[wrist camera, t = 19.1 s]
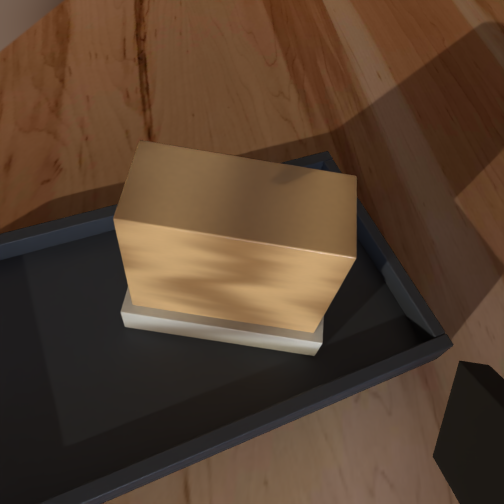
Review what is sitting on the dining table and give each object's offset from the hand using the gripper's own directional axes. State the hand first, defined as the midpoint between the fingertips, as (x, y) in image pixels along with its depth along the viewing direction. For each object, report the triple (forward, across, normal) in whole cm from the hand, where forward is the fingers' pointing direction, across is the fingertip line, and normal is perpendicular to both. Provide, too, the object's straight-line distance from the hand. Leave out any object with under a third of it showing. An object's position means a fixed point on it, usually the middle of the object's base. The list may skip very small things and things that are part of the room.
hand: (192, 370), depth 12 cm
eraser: (+17, +1, -4) cm, 17 cm away
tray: (+16, -2, -5) cm, 17 cm away
